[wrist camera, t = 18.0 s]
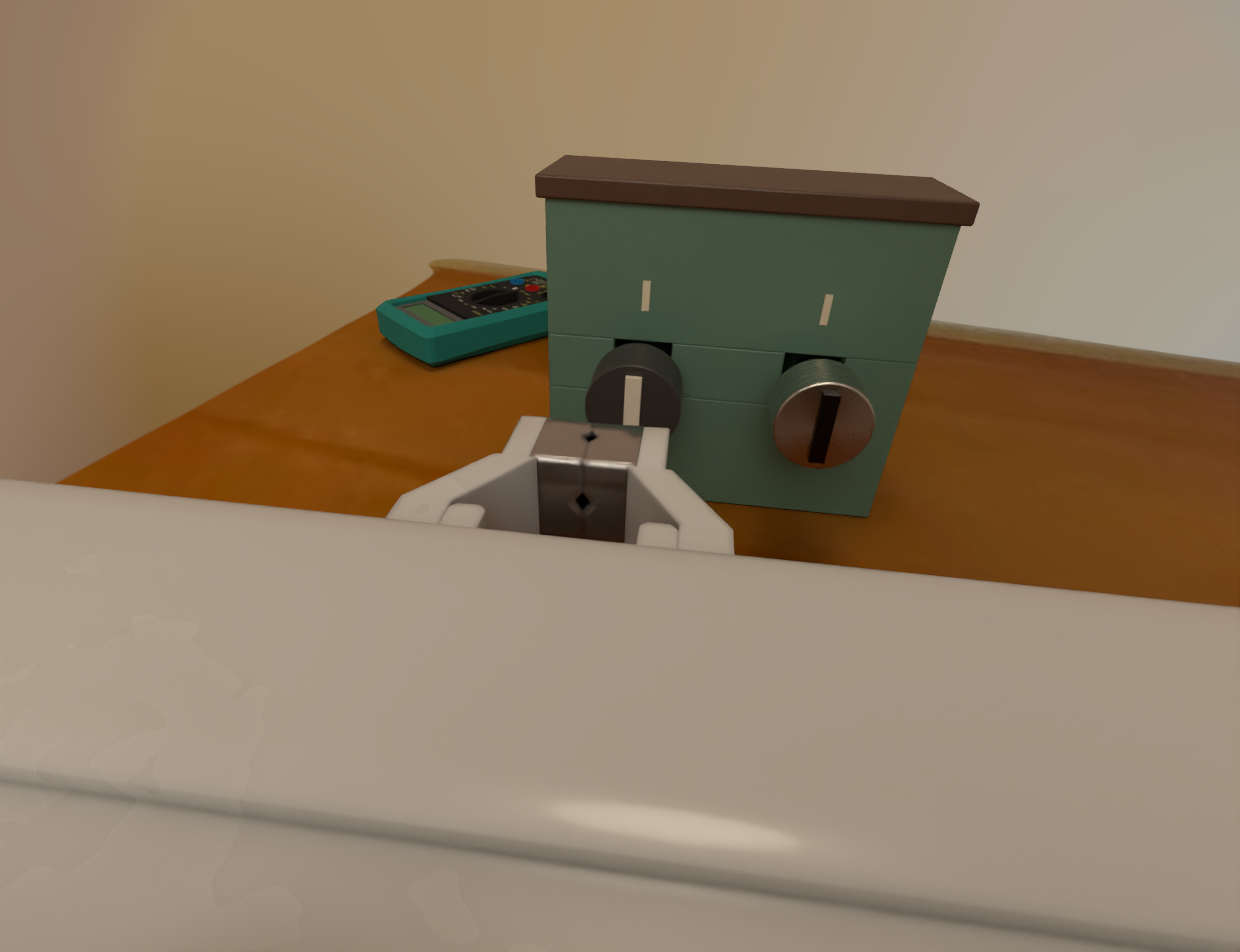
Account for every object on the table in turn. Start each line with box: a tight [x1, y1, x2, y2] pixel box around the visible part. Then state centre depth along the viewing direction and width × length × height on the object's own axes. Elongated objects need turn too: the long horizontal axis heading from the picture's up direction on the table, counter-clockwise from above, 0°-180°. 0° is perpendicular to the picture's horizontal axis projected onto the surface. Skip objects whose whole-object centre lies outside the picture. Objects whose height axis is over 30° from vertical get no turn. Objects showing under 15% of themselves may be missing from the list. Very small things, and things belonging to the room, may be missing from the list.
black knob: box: [585, 343, 683, 437], centre depth 26 cm, size 6×4×4 cm, turn 173°
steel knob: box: [768, 357, 875, 469], centre depth 25 cm, size 6×4×4 cm, turn 173°
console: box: [535, 155, 980, 517], centre depth 29 cm, size 6×16×14 cm, turn 83°
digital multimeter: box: [376, 271, 549, 367], centre depth 47 cm, size 7×15×3 cm, turn 133°
